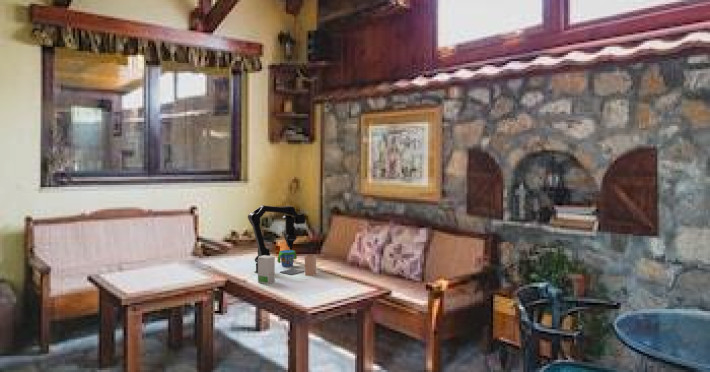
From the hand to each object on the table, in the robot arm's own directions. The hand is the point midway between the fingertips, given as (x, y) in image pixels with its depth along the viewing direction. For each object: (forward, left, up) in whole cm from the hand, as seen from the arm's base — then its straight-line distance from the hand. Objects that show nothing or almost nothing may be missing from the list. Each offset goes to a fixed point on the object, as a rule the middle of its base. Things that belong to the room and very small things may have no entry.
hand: (289, 248), depth 350 cm
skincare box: (-34, -16, -14) cm, 40 cm away
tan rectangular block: (-5, -24, -13) cm, 28 cm away
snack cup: (+3, +6, -14) cm, 15 cm away
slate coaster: (-8, -10, -13) cm, 18 cm away
